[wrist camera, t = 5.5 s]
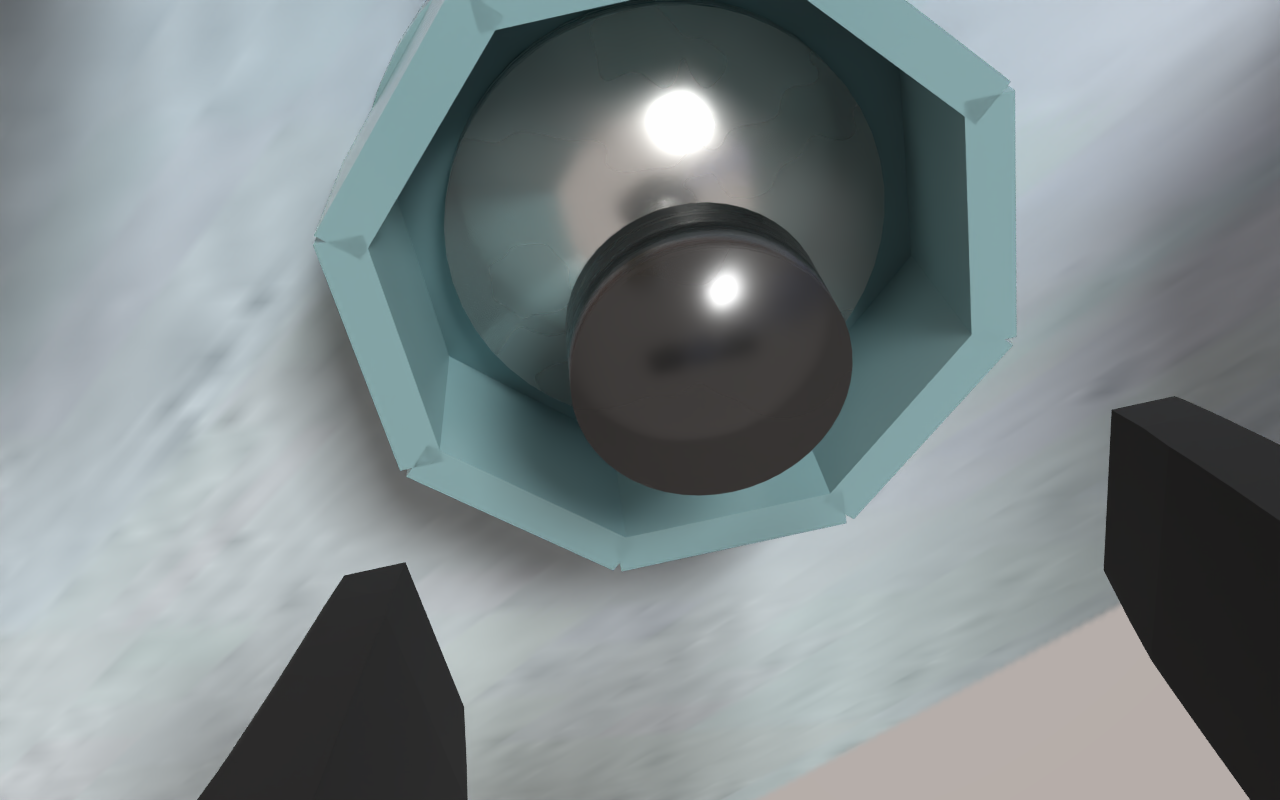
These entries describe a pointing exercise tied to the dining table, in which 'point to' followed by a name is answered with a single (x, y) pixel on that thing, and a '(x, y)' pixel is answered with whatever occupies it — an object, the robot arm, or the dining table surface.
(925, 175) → the teal tabbed tray
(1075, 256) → the dining table surface
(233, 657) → the dining table surface
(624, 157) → the doorknob
